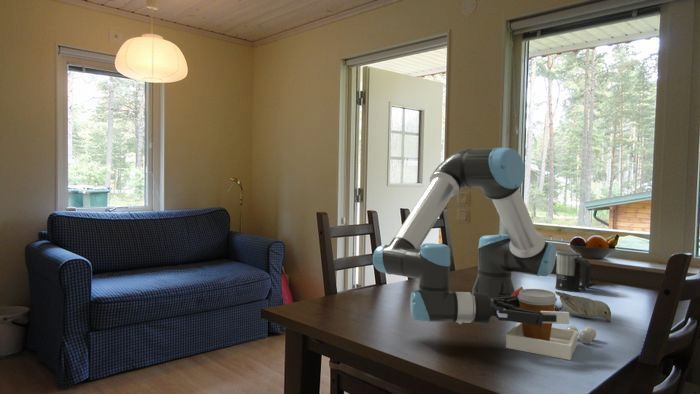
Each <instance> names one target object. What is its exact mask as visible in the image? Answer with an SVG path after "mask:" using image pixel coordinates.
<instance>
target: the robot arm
mask: <svg viewBox="0 0 700 394" xmlns="http://www.w3.org/2000/svg"><path fill="white" fill-rule="evenodd" d="M524 167H525V165H524V161H523V159H522V157H521V155H520V153H519V152H518V151H517V150H515V149H514V148H509V147H503V146H502V147H500V146H499V147H494V148H493V147H492V148H490V147H489V148H465V149H461V150H458V151H456V152H454V153H452V154H451V155H449V156H448V157H447V158H446V159H443V161H442V162H441V163H440V164H438V166H437V167H436V168H435V169H434V170H433V172H432V173H431V175H430V177H429V184H428V186H427V188H426V189H425V190H424V192H423V193H422V195H421V196H420V198H419V199H418V200H417V202H416V204H415V205H414V207H413V208H412V209H411V212H409V214H408V216H407V217H406V218H405V220H404V222H403V223H402V225H401V226H400V228H399V229H398V231H397V232H396V234H395V235H394V236H393V238H392V239H391V241H390V243H389V244H382V245H379V246H377V247H376V248H375V250H374V252H373V255H372V264H373V266H374V268H375V269H376V270H377V271H378V272H380V273H383V274H387V275H394V276H400V277H406V278H411V279H417V280H418V283H419V284H418V289H415V290H412V291H411V292H410V300H409V311H410V312H409V314H410V316H411V318H412V319H413V320H414V321H420V322H428V323H431V322H432V323H435V322H437V323H439V322H440V323H458V325H462V324H463V323H465V324H466V323H469V324H470V323H472V322H473V324H488V323H490V319H491V317H496V318H497V319H498V321H500V322H501V321H503V322H513V323H518V322H519V323H525V324H532V325H538V327H542V323H552V325H553V324H554V325H555V324H557V325H558V324H560V325H562V324H563V325H570V313H569V312H567V311H559V312H558V311H557V312H556V311H555V310H554V311H541V312H536V311H531V310H525V309H520V303H519V300H518V297H517V296H518V295H516V297H515V296H511V295H512V294H513V292H514V291H516V290H515V287H514V283H513V281H512V273H519V274H524V275H528V276H529V275H531V276H537V277H548V276H550V275H551V274H552V272H553V270H554V267H555V264H556V261H557V253H556V252H557V246H556V244H555V243H554V242H551V241H546V239H545V237H544V235H543V234H542V232H539V231H537V230H536V228H535V225H534V222H533V220H532V217H531V216H530V212H529V210H528V208H527V205H526V203H525V200H524V197H523V196H522V193H521V190H520V188H521V185H522V183H523V181H524V179H525V169H524ZM464 188H479V189H481V191H482V193H483V196H484V197H485V198H486V199H488V200H491V201H492V203H493V205H494V207H495V209H496V212H497V214H498V216H499V218H500V220H501V222H502V223H501V224H502V225H503V227H504V229H505V231H506V233H507V234H503V233H502V234H492V235H491V234H490V235H489V234H488V235H487V234H486V235H482V236H481V237H480V238H479V239H478V247H477V248H478V257H477V259H478V260H477V264H478V265H477V276H476V279H475V282H474V285H473V287H472V291H471V292H469V291H466V292H465V291H450V276H451V275H450V274H451V273H450V272H451V264H452V263H451V249H450V247H449V246H448V245H446V244H443V243H435V242H434V243H430V242H429V243H423V242H425V239H426V238H427V236H429V235H428V234H429V233H430V232H431V231H432V228H433V227H434V225H435V224H436V222H437V221H438V219H439V218H440V216H441V214H442V213H443V211H444V209H445V207H446V206H447V204H448V203H449V201H450V199H451V198H452V197H454V196H457V194H458V193H459V191H460V190H461V189H464ZM536 317H537V320H536Z"/></svg>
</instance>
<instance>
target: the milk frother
mask: <svg viewBox="0 0 700 394" xmlns="http://www.w3.org/2000/svg"><path fill="white" fill-rule="evenodd" d="M581 255H582V254H581V253H578V252H572V251H571V252H570V251H569V252H568V251H556V277H555V286H554V287H555V289H556V290H559V291H567V292H578V291H579V292H580V290H581V289H584V288H586V289H589V288H590V287H593V286H596V285H598V281H593V282H592V281H590V280H591V272H592V271H591V270H592V268H591V267H592V266H591V262H590V261H589V260H588V259H586V258H585V257H584V258H583V257H581ZM581 265H582V277H581ZM580 279H581V281H580ZM580 282H581V283H580Z"/></svg>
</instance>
